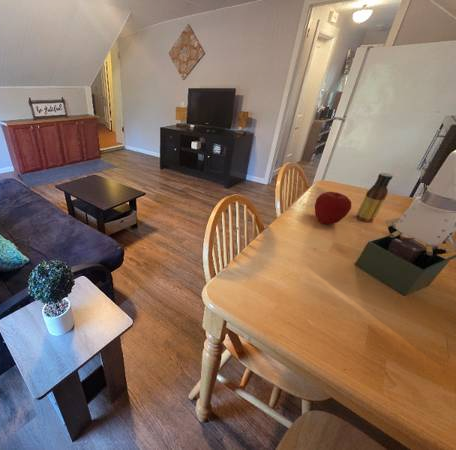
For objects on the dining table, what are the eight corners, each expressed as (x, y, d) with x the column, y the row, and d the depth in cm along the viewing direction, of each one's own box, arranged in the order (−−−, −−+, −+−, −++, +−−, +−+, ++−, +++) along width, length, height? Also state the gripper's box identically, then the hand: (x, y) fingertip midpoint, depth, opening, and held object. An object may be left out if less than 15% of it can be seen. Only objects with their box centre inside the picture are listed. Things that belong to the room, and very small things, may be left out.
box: (417, 269, 70) (433, 249, 66) (400, 271, 70) (414, 251, 66) (396, 256, 75) (410, 236, 72) (380, 258, 75) (392, 238, 71)
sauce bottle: (367, 215, 107) (390, 171, 96) (376, 223, 101) (402, 177, 91) (351, 214, 107) (373, 171, 96) (360, 222, 102) (384, 176, 91)
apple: (348, 229, 97) (364, 199, 90) (319, 229, 97) (332, 198, 90) (330, 214, 107) (343, 186, 100) (303, 214, 107) (314, 186, 100)
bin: (429, 285, 71) (449, 260, 66) (404, 296, 68) (424, 270, 63) (378, 257, 82) (392, 234, 77) (354, 265, 79) (368, 241, 74)
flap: (450, 258, 66) (452, 259, 66) (425, 268, 62) (426, 269, 62) (480, 244, 61) (482, 246, 60) (454, 255, 57) (456, 256, 57)
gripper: (500, 214, 56) (450, 272, 65) (410, 186, 70) (379, 237, 79) (483, 219, 53) (433, 279, 63) (394, 189, 67) (364, 242, 77)
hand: (404, 255), depth 71 cm, fingers closed on box, 6 cm apart
